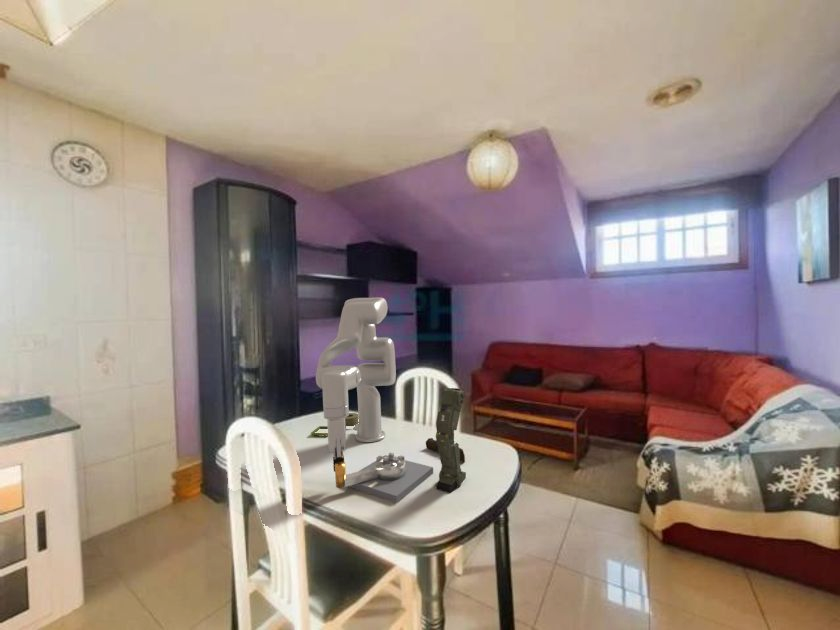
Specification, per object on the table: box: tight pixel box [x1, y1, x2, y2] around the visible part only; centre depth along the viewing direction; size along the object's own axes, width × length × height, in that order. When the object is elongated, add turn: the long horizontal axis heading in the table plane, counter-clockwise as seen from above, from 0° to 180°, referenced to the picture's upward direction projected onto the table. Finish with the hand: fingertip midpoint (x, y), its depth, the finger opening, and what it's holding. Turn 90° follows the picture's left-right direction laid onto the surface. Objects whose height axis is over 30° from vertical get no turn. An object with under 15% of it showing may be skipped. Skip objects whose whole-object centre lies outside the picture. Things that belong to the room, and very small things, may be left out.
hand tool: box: [425, 437, 466, 463], centre depth 128 cm, size 19×4×5 cm, turn 37°
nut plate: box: [347, 454, 434, 504], centre depth 112 cm, size 20×20×2 cm
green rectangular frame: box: [310, 425, 328, 437], centre depth 156 cm, size 9×9×2 cm
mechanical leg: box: [435, 387, 467, 494], centre depth 109 cm, size 14×7×30 cm, turn 148°
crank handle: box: [334, 452, 406, 489], centre depth 109 cm, size 22×10×7 cm, turn 119°
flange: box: [345, 412, 359, 426], centre depth 167 cm, size 5×15×15 cm
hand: (339, 469), depth 108 cm, fingers closed
